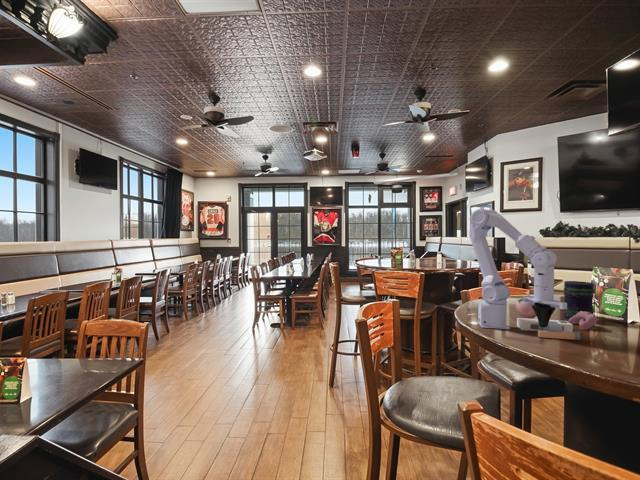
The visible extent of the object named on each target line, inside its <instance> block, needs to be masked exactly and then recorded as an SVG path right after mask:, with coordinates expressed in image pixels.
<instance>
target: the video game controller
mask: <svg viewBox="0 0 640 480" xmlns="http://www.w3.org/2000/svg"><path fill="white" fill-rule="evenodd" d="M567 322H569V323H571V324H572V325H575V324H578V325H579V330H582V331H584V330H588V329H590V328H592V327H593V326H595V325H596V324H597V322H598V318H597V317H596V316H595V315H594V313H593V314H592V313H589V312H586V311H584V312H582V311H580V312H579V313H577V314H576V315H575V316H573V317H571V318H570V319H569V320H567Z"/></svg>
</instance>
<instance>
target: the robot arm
mask: <svg viewBox="0 0 640 480" xmlns="http://www.w3.org/2000/svg"><path fill="white" fill-rule="evenodd" d="M468 219H469V223H470V225H469V238H470V242H471V245H472V248H473V250H474V254H475V257H476V259H477V263H478V266H479V269H480V272H481V276H482V278H483V279H482V280H481V295H482V296H481V297H482V298H483V300H484V301H479V302H478V307H477V308H478V309H477V311H478V313H477V319H478V320H477V323H478V325H479V326H480V327H481V328H482V329H483V328H487V329H500V330H510V329H511V327H509V326H508V324H507V319H508V318H507V315H508V314H507V313H508V312H507V310H508V304H507V303H508V301H507V299H508V298H510V295H511V289H510V288H509V286H508V285H507V284H506V283H505V281H504V279H503V278H502V277H501V276H500V275H499V273H498V269H497V266H496V264H495V263H496V262H495V261H494V257H493V254H492V252H491V248H490V245H489V243H488V242H489V241H488V240H487V237H486V235H487V234H488V232H489V231H490V230H491V229H493V228H497V229H499V231H501V232H502V233H504V234H505V235H506V236H508V237H509V238H510V239H511V240H513V241H514V244H515V245H514V246H515V247H516V248H517V249H518V250H519V251H520V252H521V253H522V254H524V255H525V257H527V258H528V259H529V260H530V262H531V265H533V267H534V269H533V270H534V273H533V296H532V295H531V296H530V295H529V296H528V295H523V296H522V297H523V302H530V303H535V304H534V305H532V308H533V310H534V312H535V313H536V319H538V322H539V326H540V327H547V326H548V323H549V320H551V317H552V315H553V314H554V312H555V311H556V309H559V310H563V309H567V303H565V301H559V300H556V299H555V265H556V263H557V262H558V257H557V255H556V253H555V252H554V251H553V250H552V249H551V250H550V249H547V247H546V246H545V245H541V244H540V243H539V242H538V241H537V240H535V239H536V236H533V235H529V234H522V232H520V231H519V230H518V229H517V228H516V227H515V226H513V225H512V224H511V223H510V222H509V221H508V220H507V219H506V218H505V217H504V216H503V215H502V214H500V213H498V212H497V211H496V210H494V209H485V208H476V209H475V210H474V211H473V212H472V214H471V215H470V216H469V218H468Z"/></svg>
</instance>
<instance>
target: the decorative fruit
mask: <svg viewBox="0 0 640 480" xmlns="http://www.w3.org/2000/svg"><path fill="white" fill-rule="evenodd" d="M527 296H530V295H529V294H527ZM534 304H535V303H530V302H523V296H522V297H519V298H518V299H517V300H516V302H515V309H516V312H517V313H518V314H519V316H520V317H521V318H528V319H536V318H537V316H536V313H535V312H534V310H533V308H532V305H534Z"/></svg>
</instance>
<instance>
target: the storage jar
mask: <svg viewBox="0 0 640 480" xmlns="http://www.w3.org/2000/svg"><path fill="white" fill-rule="evenodd" d="M563 284H564V285H563V296H564V303H567V309H562V310H563V320H565V321H568V320H569V319H570V318H571V317H573V316H575V315H576V314H577V313H579V312H580V311H582V312H584V311H586V312H589V313H592V314H593V315H594V307H593V302H594V301H593V298H594V297H595V295H594V292H595V291H594V283H593V282H588V281H577V280H566V281H564V282H563Z"/></svg>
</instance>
